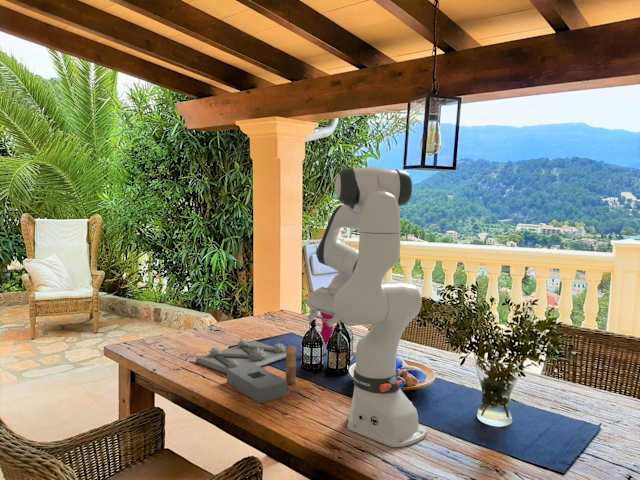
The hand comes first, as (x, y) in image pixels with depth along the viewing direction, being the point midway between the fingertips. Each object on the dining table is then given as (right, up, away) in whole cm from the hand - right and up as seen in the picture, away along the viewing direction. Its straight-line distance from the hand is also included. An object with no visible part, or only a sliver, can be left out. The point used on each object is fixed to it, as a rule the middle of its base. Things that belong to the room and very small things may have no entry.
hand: (318, 322), depth 175 cm
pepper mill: (+3, -16, +27) cm, 32 cm away
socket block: (-20, -19, -13) cm, 30 cm away
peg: (-9, -19, -7) cm, 22 cm away
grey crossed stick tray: (-28, -17, +14) cm, 35 cm away
